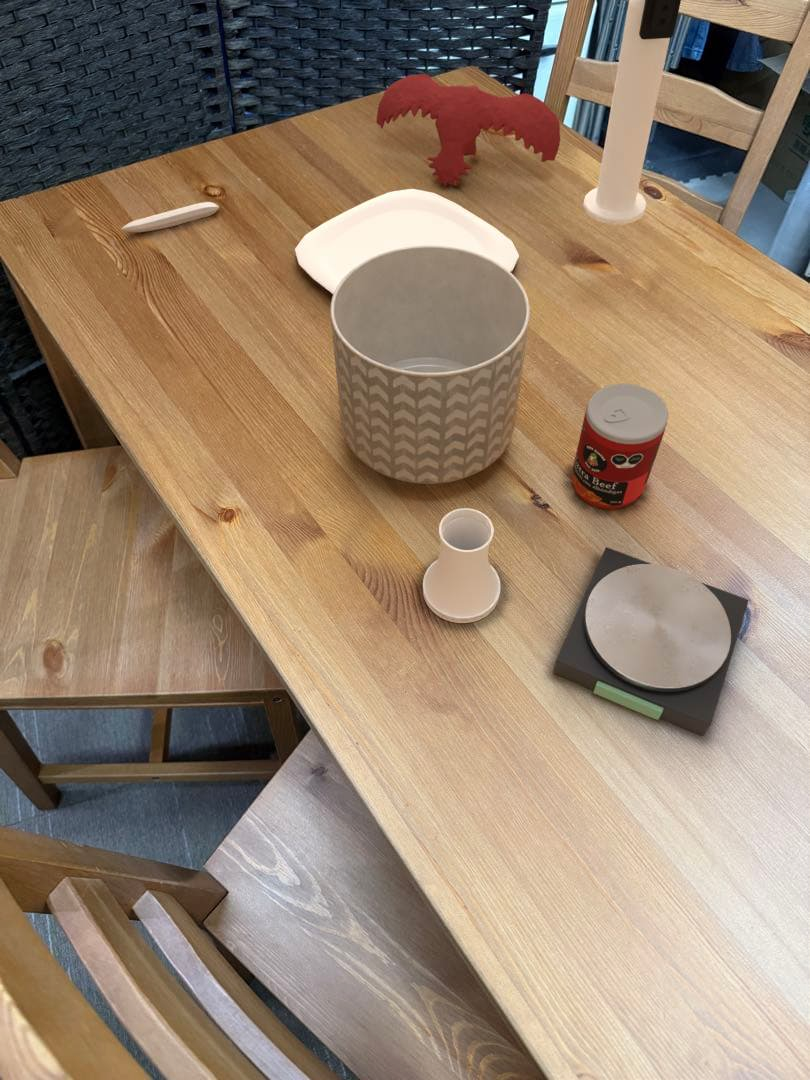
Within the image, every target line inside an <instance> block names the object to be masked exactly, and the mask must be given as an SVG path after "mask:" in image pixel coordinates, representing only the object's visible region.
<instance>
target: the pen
mask: <svg viewBox="0 0 810 1080" xmlns="http://www.w3.org/2000/svg"><path fill="white" fill-rule="evenodd" d="M219 208H220V206H219V205H218V204H217V203H215V202H211V201H204V202H199V203H194V204H190V205H186V206H183V207H180V208H179V207H178V208H175V209H172V210H168V211H164V212H161V213H157V214H154V215H149V216H146V217H143V218H138V219H135V220H132V221H130V222H128V223H126V224H125V225H124V226H123V227H121V228H120V230H122V231H125V232H130V233H143V232H144V233H145V232H151V231H152V232H153V231H157V230H161V229H162V230H163V229H167V228H171V227H175V226H178V225H182V224H186V223H190V222H193V221H196V220H200V219H204V218H207V217H210V216H212V215H214V214H215V213H217V212H218V211H219Z"/></svg>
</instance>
